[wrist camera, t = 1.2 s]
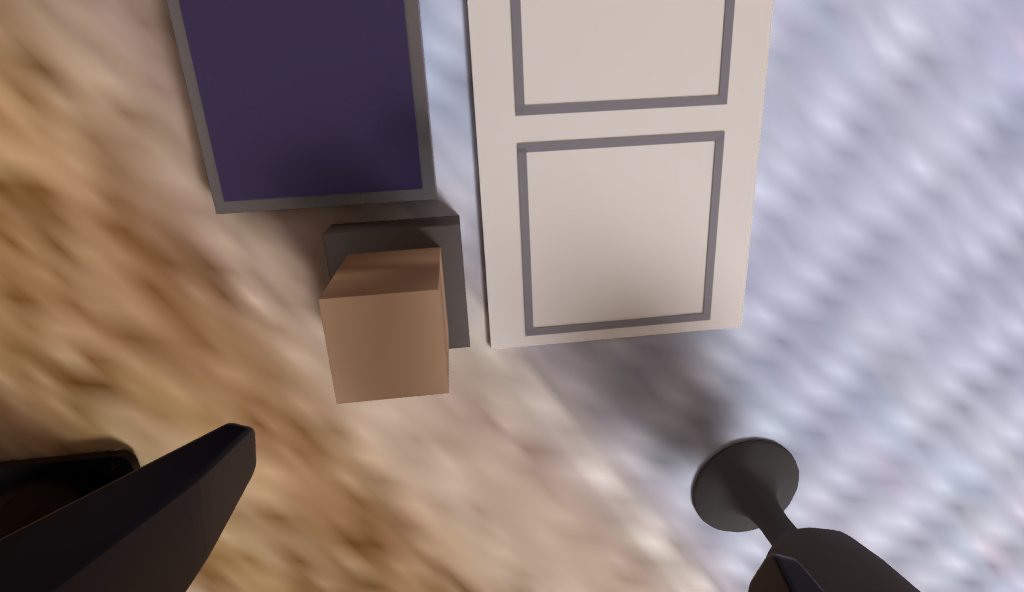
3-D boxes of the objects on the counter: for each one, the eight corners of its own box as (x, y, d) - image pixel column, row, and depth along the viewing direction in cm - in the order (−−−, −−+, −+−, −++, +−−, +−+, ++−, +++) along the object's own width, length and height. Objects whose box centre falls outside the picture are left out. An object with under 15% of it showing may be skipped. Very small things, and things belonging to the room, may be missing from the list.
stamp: (351, 339, 21) (314, 428, 15) (332, 223, 19) (284, 275, 14) (468, 329, 21) (475, 412, 15) (459, 215, 20) (463, 261, 14)
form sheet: (491, 347, 21) (491, 350, 21) (456, -158, 16) (456, -161, 16) (739, 324, 22) (742, 327, 22) (785, -161, 17) (791, -165, 16)
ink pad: (228, 208, 18) (213, 215, 17) (166, -69, 16) (144, -82, 15) (437, 194, 19) (436, 200, 18) (411, -75, 16) (408, -88, 15)
